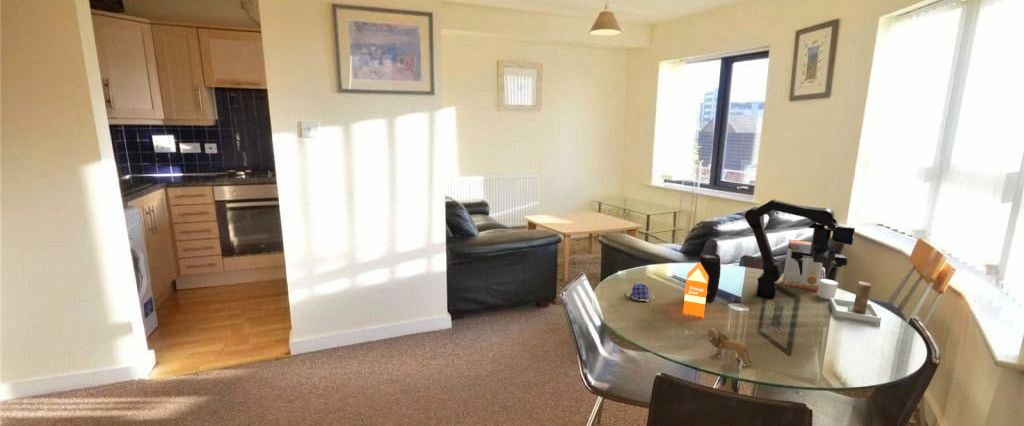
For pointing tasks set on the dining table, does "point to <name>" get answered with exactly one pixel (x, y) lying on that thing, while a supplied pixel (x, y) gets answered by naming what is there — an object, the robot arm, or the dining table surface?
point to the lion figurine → (726, 344)
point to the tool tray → (843, 312)
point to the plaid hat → (640, 292)
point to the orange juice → (696, 291)
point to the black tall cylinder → (711, 273)
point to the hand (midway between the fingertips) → (814, 277)
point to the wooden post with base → (861, 299)
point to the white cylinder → (827, 288)
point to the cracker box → (809, 268)
